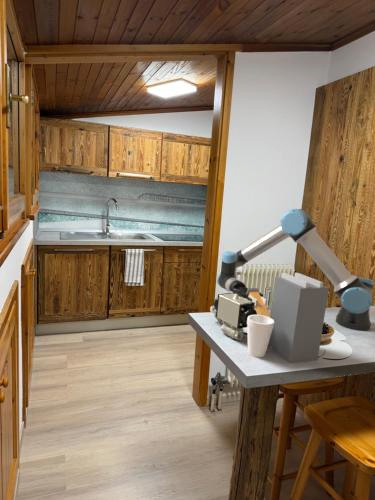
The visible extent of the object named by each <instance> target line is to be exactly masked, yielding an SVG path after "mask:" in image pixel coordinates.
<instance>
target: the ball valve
mask: <svg viewBox="0 0 375 500" xmlns="http://www.w3.org/2000/svg"><path fill="white" fill-rule="evenodd" d="M213 305H214V308H215V310H216V317H217V318H219V319H221V320H222V322H224V323H223V324H222V325H221V329H220V330H221V331H222V333H223V334H225V335H226V336H228V337H230V338H231V339H233V340H236V341H241V340H242V339H243V338H244V332H245V331H244V329H245V328H247V318H248V316H250V315H257V312H256V310H255V309H254V308H255V307H254V306H255V303H254V302H252V301H250V300H247V298H243V297H240V296H238V294H233V293H230V292H227V293H226V292H225V293H218V294H217V297H215V300H214V301H213Z"/></svg>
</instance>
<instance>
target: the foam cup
mask: <svg viewBox="0 0 375 500" xmlns="http://www.w3.org/2000/svg"><path fill="white" fill-rule="evenodd" d="M273 327H274V320H273V319H271V318H270V317H267V316H263V315H250V316H248V318H247V327H246V328H247V329H246V330H247V353H248V355H250V356H252V357H254V358H263V357H265V356H266V355H267V351H268V350H267V349H268V347H269V346H268V343H269V340H270V336H271V333H272V329H273Z"/></svg>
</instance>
